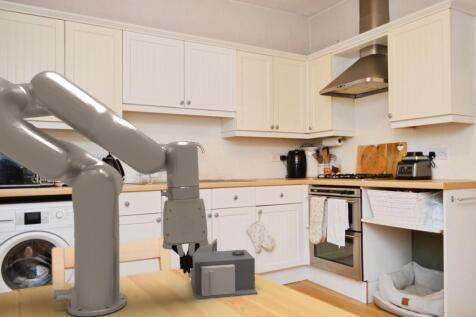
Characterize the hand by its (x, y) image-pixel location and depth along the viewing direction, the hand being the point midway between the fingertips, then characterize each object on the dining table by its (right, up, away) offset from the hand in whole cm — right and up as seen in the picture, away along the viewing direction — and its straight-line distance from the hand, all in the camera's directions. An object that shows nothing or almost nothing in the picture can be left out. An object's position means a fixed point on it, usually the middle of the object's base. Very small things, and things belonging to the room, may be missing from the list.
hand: (186, 271), depth 88 cm
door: (+7, -6, +2) cm, 10 cm away
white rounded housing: (+2, -7, +19) cm, 20 cm away
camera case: (+8, -6, +7) cm, 13 cm away
